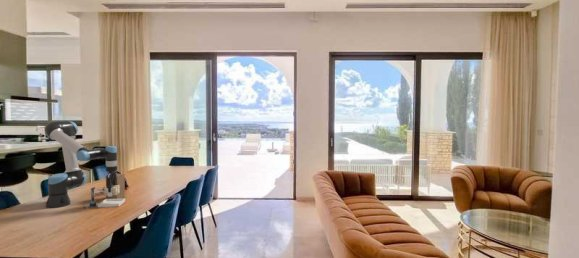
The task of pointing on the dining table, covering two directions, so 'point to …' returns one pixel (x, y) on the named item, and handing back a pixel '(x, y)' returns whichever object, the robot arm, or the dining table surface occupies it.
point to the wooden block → (121, 187)
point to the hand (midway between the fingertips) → (112, 194)
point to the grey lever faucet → (92, 200)
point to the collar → (114, 190)
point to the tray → (111, 202)
